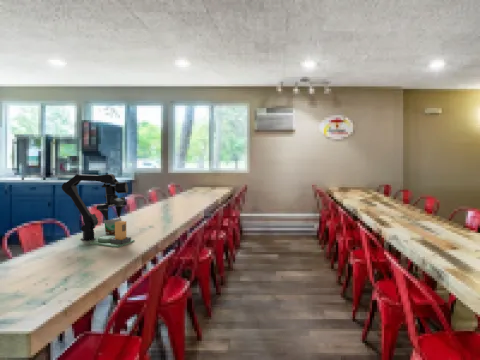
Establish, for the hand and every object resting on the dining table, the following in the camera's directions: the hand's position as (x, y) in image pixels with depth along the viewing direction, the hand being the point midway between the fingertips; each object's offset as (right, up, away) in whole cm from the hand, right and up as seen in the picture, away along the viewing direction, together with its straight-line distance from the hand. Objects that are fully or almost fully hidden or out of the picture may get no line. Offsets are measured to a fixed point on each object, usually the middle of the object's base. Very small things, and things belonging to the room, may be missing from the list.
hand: (113, 218), depth 200 cm
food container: (-6, -13, +16) cm, 21 cm away
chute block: (+8, -13, -8) cm, 17 cm away
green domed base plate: (+2, -14, -6) cm, 16 cm away
